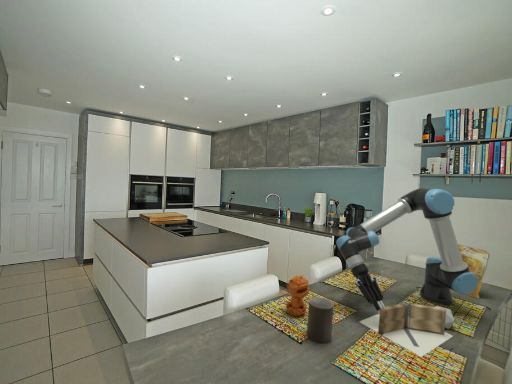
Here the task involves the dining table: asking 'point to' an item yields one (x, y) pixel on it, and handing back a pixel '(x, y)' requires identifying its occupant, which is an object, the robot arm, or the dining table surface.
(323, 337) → the pillar candle
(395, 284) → the dining table surface
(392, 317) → the fence gate
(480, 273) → the pancake mix bag
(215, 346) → the dining table surface
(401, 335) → the board
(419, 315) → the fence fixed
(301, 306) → the orange carved figurine
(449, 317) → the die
